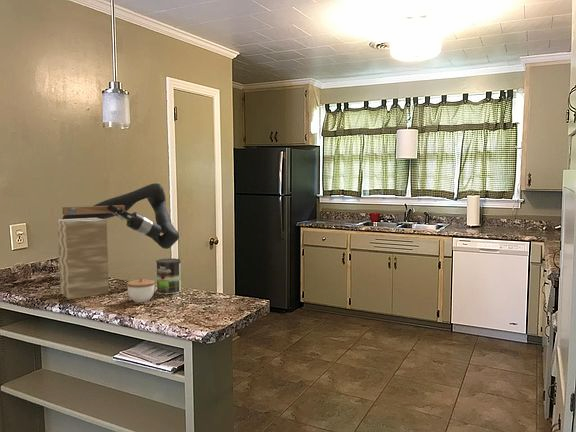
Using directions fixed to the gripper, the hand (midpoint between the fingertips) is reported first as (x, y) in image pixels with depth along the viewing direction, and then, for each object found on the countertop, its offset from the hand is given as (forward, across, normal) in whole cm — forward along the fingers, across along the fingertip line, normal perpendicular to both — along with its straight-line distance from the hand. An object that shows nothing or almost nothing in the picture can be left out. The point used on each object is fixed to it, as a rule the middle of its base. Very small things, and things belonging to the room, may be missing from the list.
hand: (106, 206), depth 207 cm
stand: (-10, 0, +38) cm, 39 cm away
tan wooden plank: (+3, 0, +5) cm, 6 cm away
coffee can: (-35, +22, +23) cm, 47 cm away
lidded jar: (-22, +28, +31) cm, 47 cm away
